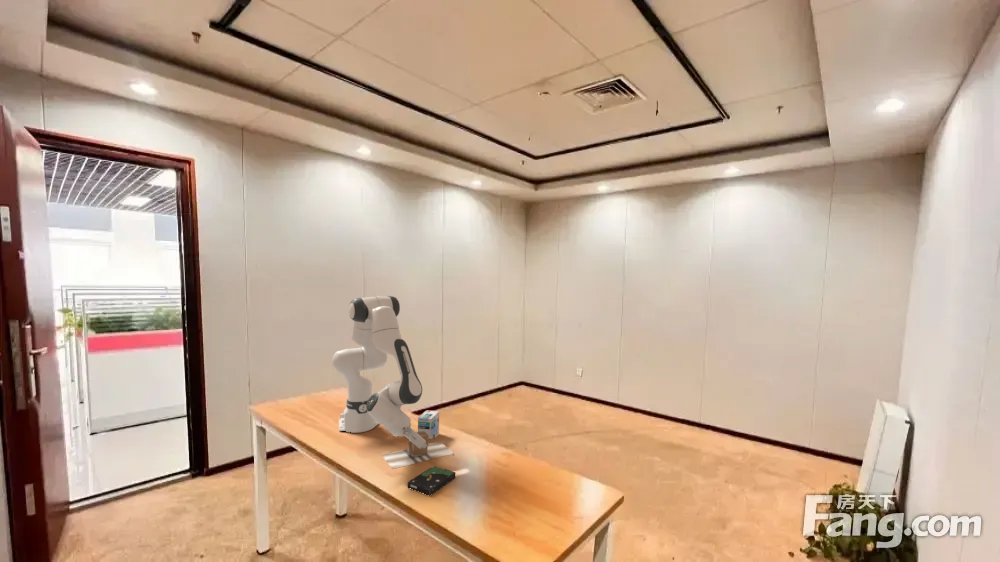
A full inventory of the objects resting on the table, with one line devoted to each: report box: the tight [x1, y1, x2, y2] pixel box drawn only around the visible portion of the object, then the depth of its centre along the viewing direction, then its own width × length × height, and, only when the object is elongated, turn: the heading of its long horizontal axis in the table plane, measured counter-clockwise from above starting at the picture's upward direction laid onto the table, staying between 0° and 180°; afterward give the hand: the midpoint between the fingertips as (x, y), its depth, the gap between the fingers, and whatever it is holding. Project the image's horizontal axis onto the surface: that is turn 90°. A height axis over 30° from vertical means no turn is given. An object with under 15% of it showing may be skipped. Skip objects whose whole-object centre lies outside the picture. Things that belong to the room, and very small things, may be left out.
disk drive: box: [407, 465, 456, 497], centre depth 145 cm, size 10×3×15 cm
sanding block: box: [408, 431, 429, 457], centre depth 165 cm, size 5×6×8 cm
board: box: [381, 441, 455, 470], centre depth 165 cm, size 14×26×2 cm, turn 124°
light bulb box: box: [417, 409, 440, 440], centre depth 186 cm, size 11×7×11 cm, turn 168°
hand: (422, 443), depth 166 cm, fingers closed on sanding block, 5 cm apart
